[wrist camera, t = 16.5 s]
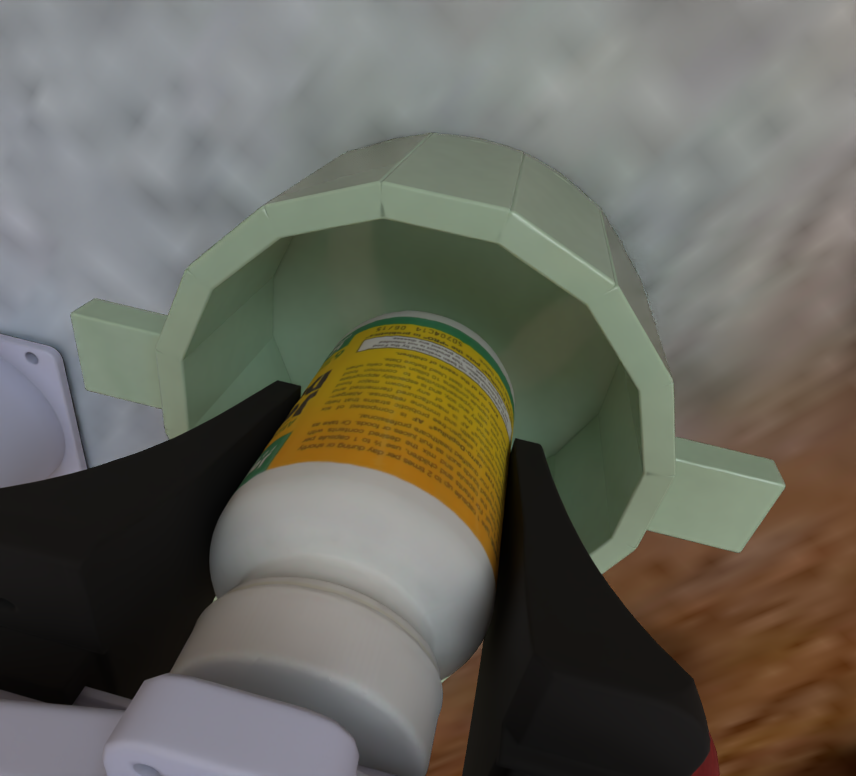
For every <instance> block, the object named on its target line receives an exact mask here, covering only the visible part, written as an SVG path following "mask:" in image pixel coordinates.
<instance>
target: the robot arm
mask: <svg viewBox="0 0 856 776" xmlns="http://www.w3.org/2000/svg"><path fill="white" fill-rule="evenodd" d="M36 356H37V357H36ZM300 398H301V386H300V385H296V384H291V383H287V382H283V381H279V380H277V381H275V382H273V383H272V384H270V385H268V386H267V387H265V388H263V389H262V390H260V391H258V392H257V393H255V394H253V395H252V396H250V397H248V398H247V399H245V400H243V401H242V402H240V403H238V404H237V405H235V406H233V407H231V408H230V409H228V410H226V411H225V412H223V413H221V414H219V415H218V416H216V417H214V418H212V419H210V420H208V421H206V422H204V423H202V424H200V425H199V426H197V427H195V428H193V429H191V430H189V431H187V432H185V433H183V434H181V435H179V436H177V437H174V438H172V439H170V440H168V441H165V442H163V443H161V444H158V445H156V446H153V447H151V448H148V449H146V450H143V451H141V452H138V453H135V454H133V455H130V456H127V457H124V458H120V459H117V460H114V461H111V462H108V463H105V464H102V465H99V466H96V467H93V468H89V469H87V466H86V462H85V457H84V453H83V448H82V444H81V439H80V435H79V430H78V426H77V421H76V417H75V412H74V408H73V403H72V399H71V394H70V390H69V385H68V381H67V376H66V372H65V367H64V363H63V359H62V356H61V354H60V353H59V352H58V351H57V350H56V349H54V348H53V347H50V346H48V345H44V344H39V343H35V342H31V341H27V340H23V339H19V338H15V337H11V336H7V335H3V334H0V776H397V775H394V774H390V773H387V772H383V771H380V770H376V769H373V768H369V767H366V766H362V765H359V764H358V761H359V752H358V749H357V746H356V743H355V740H354V738H353V736H352V734H350V733H349V732H348V731H347V730H346V729H345V728H344V727H342V726H341V725H340V724H339V723H338V722H337V721H335V720H334V719H331V718H329V717H327V716H324V715H322V714H320V713H317V712H315V711H313V710H311V709H307V708H303V707H300V706H296V705H293V704H289V703H286V702H282V701H279V700H275V699H271V698H268V697H264V696H261V695H257V694H254V693H250V692H247V691H243V690H239V689H236V688H232V687H229V686H225V685H222V684H218V683H214V682H211V681H207V680H204V679H200V678H197V677H193V676H187V675H180V674H172V673H170V671H171V669H172V668H173V666H174V664H175V662H176V660H177V658H178V657H179V655H180V653H181V651H182V649H183V648H184V646H185V644H186V642H187V640H188V638H189V637H190V635H191V633H192V631H193V629H194V626H195V624H196V622H197V620H198V618H199V617H200V615H201V614H202V612H203V611H204V610H205V609H206V608H207V607H208V606H209V605H210V604H212V602H213V600H214V598H215V596H216V595H215V592H214V588H213V585H212V581H211V575H210V565H209V555H210V545H211V540H212V535H213V532H214V529H215V527H216V524H217V522H218V519H219V517H220V515H221V513H222V512H223V510H224V508H225V507H226V505H227V503H228V502H229V500H230V498H231V497H232V495H233V494H234V492H235V491H236V490H237V488H238V487H239V485H240V484H241V483H242V481H243V480H244V478H245V477H246V475H247V474H248V472H249V471H250V469H251V468H252V467H253V465H254V464H255V462H256V461H257V459H258V458H259V457H260V455H261V454H262V452H263V451H264V449H265V448H266V446H267V445H268V443H269V442H270V441H271V439H272V438H273V436H274V435H275V433H276V432H277V430H278V429H279V428H280V426H281V425H282V424H283V422H284V421H285V419H286V418H287V416H288V415H289V413H290V412H291V410H292V409H293V407H294V406H295V404H296V403H297V402H298V401H299V399H300ZM709 752H710V735H709V730H708V726H707V721H706V717H705V713H704V710H703V706H702V703H701V700H700V697H699V694H698V692H697V689H696V686H695V683H694V680H693V678H692V677H691V676H690V675H689V674H688V673H687V672H686V671H685V670H684V669H683V668H682V667H681V666H680V665H679V664H678V663H677V662H676V661H674V660H673V659H672V658H671V657H670V656H669V655H668V654H667V653H666V652H665V651H664V650H663V649H662V648H661V647H660V646H659V645H658V644H657V643H656V641H655V640H654V639H653V638H652V637H651V636H650V635H649V634H648V633H647V631H646V630H645V629H644V628H643V627H642V626H641V625H640V624H639V622H638V621H637V620H636V619H635V618H634V617H633V615H632V614H631V613H630V612H629V611H628V609H627V608H626V607H625V605H624V604H623V603H622V602H621V600H620V599H619V598H618V596H617V595H616V594H615V592H614V591H613V590H612V589H611V587H610V586H609V584H608V583H607V582H606V580H605V579H604V577H603V576H602V574H601V573H600V571H599V570H598V568H597V567H596V565H595V563H594V562H593V560H592V559H591V557H590V555H589V554H588V552H587V550H586V548H585V547H584V545H583V543H582V541H581V539H580V538H579V536H578V534H577V532H576V530H575V528H574V526H573V524H572V522H571V520H570V518H569V516H568V514H567V511H566V509H565V507H564V504H563V502H562V500H561V498H560V495H559V493H558V491H557V488H556V486H555V483H554V480H553V478H552V475H551V472H550V469H549V466H548V463H547V460H546V457H545V453H544V450H543V448H542V446H541V444H538V443H534V442H530V441H526V440H522V439H517V438H515V440H514V443H513V447H512V450H511V453H510V461H509V470H508V480H507V489H506V498H505V508H504V517H503V527H502V537H501V547H500V558H499V568H498V578H497V588H496V595H495V602H494V610H493V614H492V618H491V622H490V625H489V628H488V630H487V633H486V635H485V637H484V641H483V648H482V655H481V662H480V669H479V675H478V682H477V688H476V695H475V701H474V707H473V714H472V720H471V726H470V732H469V738H468V744H467V750H466V756H465V762H464V768H463V774H462V776H691V775H692V774H693V773H694V772H695V771H696V770H697V769H698V768H699V767H700V765H701V764H702V763H703V762H704V761H705V759H706V757H707V756H708V754H709Z"/></svg>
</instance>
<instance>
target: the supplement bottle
mask: <svg viewBox="0 0 856 776" xmlns="http://www.w3.org/2000/svg"><path fill="white" fill-rule="evenodd" d="M514 416H515V399H514V391H513V388H512V384H511V381H510V379H509V377H508V374H507V372H506V370H505V368H504V366H503V364H502V363H501V361H500V359H499V358H498V356H497V355H496V353H495V352H494V351H493V349H492V348H491V347H490V346H489V345H488V344H487V343H486V341H484V340H483V339H482V338H481V337H480V336H479V335H478V334H476V333H475V332H473V331H472V330H470V329H469V328H467V327H466V326H464V325H462V324H460V323H458V322H457V321H454V320H452V319H450V318H447V317H444V316H441V315H437V314H433V313H429V312H422V311H411V310H406V311H400V312H392V313H386V314H383V315H380V316H377V317H374V318H372V319H370V320H367V321H365V322H363V323H361V324H360V325H358V326H357V327H355V328H354V329H352V330H351V331H350V332H348V333H347V334H346V335H345V336H344V337H343V338H342V339H341V340H340V341H339V342H338V343H337V345H336V346H335V347H334V349H333V350H332V352H331V353H330V355H329V356H328V357H327V359H326V360H325V362H324V363H323V365H322V366H321V368H320V369H319V371H318V372H317V374H316V375H315V377H314V378H313V379H312V381H311V383H310V384H309V385H308V387H307V388H306V390H305V391H304V393H303V394H302V396H301V398H300V399H299V401H298V402H297V403H296V404H295V406H294V407H293V409H292V410H291V412H290V413H289V415H288V416H287V418H286V419H285V421H284V422H283V424H282V425H281V426H280V428H279V429H278V430H277V432H276V433H275V435H274V436H273V438H272V439H271V441H270V442H269V443H268V445H267V446H266V448H265V449H264V451H263V452H262V454H261V455H260V457H259V458H258V459H257V461H256V462H255V464H254V465H253V467H252V468H251V469H250V471H249V472H248V474H247V475H246V477H245V478H244V480H243V481H242V483H241V484H240V485H239V487H238V488H237V490H236V491H235V492H234V494H233V495H232V497H231V498H230V500H229V502H228V503H227V505H226V507H225V508H224V510H223V512H222V513H221V515H220V517H219V519H218V522H217V524H216V527H215V529H214V532H213V535H212V540H211V545H210V555H209V565H210V575H211V581H212V585H213V588H214V592H215V595H216V597H217V600H216V601H214V602H213V603H212V604H210V605H209V606H208V607H207V608H206V609H205V610H204V611H203V612H202V614H201V615H200V617H199V618H198V620H197V622H196V624H195V626H194V629H193V631H192V633H191V635H190V637H189V638H188V640H187V642H186V644H185V646H184V648H183V649H182V651H181V653H180V655H179V657H178V658H177V660H176V662H175V664H174V666H173V668H172V669H171V671H170V673H172V674H180V675H187V676H193V677H197V678H200V679H204V680H207V681H211V682H214V683H218V684H222V685H225V686H229V687H232V688H236V689H239V690H243V691H247V692H250V693H254V694H257V695H261V696H264V697H268V698H271V699H275V700H279V701H282V702H286V703H289V704H293V705H296V706H300V707H303V708H307V709H311V710H313V711H315V712H317V713H320V714H322V715H324V716H327V717H329V718H331V719H334V720H335V721H337V722H338V723H339V724H340V725H341V726H342V727H344V728H345V729H346V730H347V731H348V732H349V733H350V734H352V736H353V738H354V740H355V743H356V746H357V749H358V752H359V761H358V764H359V765H362V766H366V767H369V768H373V769H376V770H380V771H383V772H387V773H390V774H394V775H397V776H425V775H426V773H427V770H428V766H429V760H430V755H431V750H432V745H433V740H434V735H435V730H436V725H437V720H438V716H439V713H440V711H441V708H442V699H443V690H442V684H441V680H443V679H445V678H446V677H448V676H450V675H451V674H453V673H454V672H455V671H457V670H458V669H459V668H460V667H462V666H463V665H464V664H465V663H466V662H467V661H468V660H469V659H470V658H471V656H472V655H473V654H474V653H475V652H476V650H477V649H478V647H479V646H480V644H481V643H482V641H483V639H484V637H485V635H486V633H487V630H488V628H489V625H490V622H491V618H492V614H493V610H494V602H495V595H496V588H497V578H498V568H499V558H500V547H501V537H502V527H503V517H504V508H505V498H506V489H507V480H508V470H509V461H510V453H511V445H512V436H513V427H514Z"/></svg>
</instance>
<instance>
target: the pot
mask: <svg viewBox="0 0 856 776" xmlns="http://www.w3.org/2000/svg"><path fill="white" fill-rule="evenodd" d="M406 310H411V311H422V312H429V313H433V314H437V315H441V316H444V317H447V318H450V319H452V320H454V321H457V322H458V323H460V324H462V325H464V326H466V327H467V328H469V329H470V330H472V331H473V332H475V333H476V334H478V335H479V336H480V337H481V338H482V339H483V340H484V341H486V343H487V344H488V345H489V346H490V347H491V348H492V349H493V351H494V352H495V353H496V355H497V356H498V358H499V359H500V361H501V363H502V364H503V366H504V368H505V370H506V372H507V374H508V377H509V379H510V381H511V384H512V388H513V391H514V399H515V416H514V427H513V436H512V445H511V450H512V447H513V443H514V440H515V438H517V439H522V440H526V441H530V442H534V443H538V444H541V446H542V448H543V450H544V453H545V457H546V460H547V463H548V466H549V469H550V472H551V475H552V478H553V480H554V483H555V486H556V488H557V491H558V493H559V495H560V498H561V500H562V502H563V504H564V507H565V509H566V511H567V514H568V516H569V518H570V520H571V522H572V524H573V526H574V528H575V530H576V532H577V534H578V536H579V538H580V539H581V541H582V543H583V545H584V547H585V548H586V550H587V552H588V554H589V555H590V557H591V559H592V560H593V562H594V563H595V565H596V567H597V568H598V570H599V571H600V573H601V574H603V573H604V572H606V571H607V570H608V569H610V568H611V567H612V566H614V565H615V564H617V563H618V562H619V561H621V560H622V559H623V558H625V557H626V556H628V555H629V554H630V553H632V552H633V551H634V550H635V548H637V547H638V545H639V543H640V541H641V539H642V537H643V535H644V534H645V532H646V530H648V531H652V532H656V533H660V534H664V535H668V536H672V537H676V538H680V539H684V540H688V541H692V542H696V543H700V544H704V545H708V546H712V547H716V548H720V549H724V550H728V551H732V552H736V553H740V552H741V551H742V550H743V548H744V547H745V545H746V544H747V542H748V541H749V539H750V538H751V536H752V535H753V534H754V532H755V531H756V529H757V528H758V526H759V525H760V523H761V522H762V520H763V519H764V518H765V516H766V515H767V513H768V512H769V510H770V509H771V507H772V506H773V504H774V503H775V502H776V500H777V499H778V497H779V496H780V494H781V493H782V491H783V490H784V488H785V483H784V481H783V478H782V476H781V474H780V472H779V470H778V468H777V466H776V464H775V462H774V461H773V460H771V459H767V458H763V457H759V456H755V455H751V454H746V453H742V452H738V451H734V450H730V449H726V448H721V447H717V446H713V445H709V444H705V443H700V442H696V441H692V440H688V439H684V438H679V437H675V406H674V382H673V378H672V375H671V372H670V369H669V366H668V363H667V360H666V356H665V353H664V350H663V347H662V344H661V341H660V338H659V335H658V331H657V328H656V325H655V322H654V319H653V316H652V313H651V310H650V306H649V303H648V300H647V297H646V294H645V291H644V288H643V285H642V281H641V279H640V277H639V275H638V274H637V272H636V270H635V268H634V266H633V265H632V263H631V261H630V259H629V257H628V256H627V253H626V251H625V249H624V247H623V245H622V243H621V240H620V239H619V237H618V235H617V234H616V232H615V231H614V229H613V228H612V226H611V225H610V223H609V221H608V220H607V218H606V216H605V214H604V212H603V211H602V209H601V208H600V207H599V206H598V205H597V204H596V203H594V202H593V201H592V200H590V199H589V198H588V197H587V195H586V194H585V193H583V192H582V191H581V190H580V189H579V188H577V187H576V186H575V185H574V184H573V183H571V182H570V181H569V180H568V179H567V178H566V177H564V176H563V175H562V174H560V173H559V172H557V171H555V170H554V169H552V168H551V167H549V166H547V165H546V164H544V163H543V162H541V161H539V160H538V159H536V158H533V157H531V156H530V155H528V154H526V153H525V154H524V152H523V151H519V150H515V149H513V148H511V147H508V146H505V145H501V144H498V143H494V142H491V141H487V140H484V139H480V138H473V137H465V136H458V135H451V134H438V133H426V134H422V135H415V136H408V137H402V138H395V139H390V140H387V141H384V142H381V143H377V144H374V145H371V146H367V147H364V148H360V149H355V150H351V151H347V152H346V153H344V154H342V155H340V156H339V157H337V158H335V159H334V160H332V161H331V162H329V163H328V164H326V165H325V166H323V167H322V168H320V169H318V170H317V171H315V172H314V173H312V174H311V175H309V176H308V177H306V178H304V179H303V180H301V181H300V182H298V183H297V184H295V185H294V186H292V187H291V188H289V189H287V190H286V191H284V192H283V193H281V194H280V195H278V196H277V197H275V198H273V199H272V200H270V201H269V202H267V203H266V204H264V205H263V206H261V207H260V208H259V209H257V210H256V211H255V212H254V213H252V214H251V215H250V216H249V217H248V218H246V219H245V220H244V221H243V222H241V223H240V224H239V225H238V226H237V227H235V228H234V229H233V230H232V231H230V232H229V233H228V234H227V235H226V236H224V237H223V238H222V239H221V240H219V241H218V242H217V243H216V244H214V245H213V246H212V247H211V248H210V249H208V250H207V251H206V252H205V253H203V254H202V255H201V256H200V257H199V258H197V259H196V260H195V261H194V262H192V263H191V264H190V265H189V267H188V268H187V269H186V270H185V271H184V274H183V277H182V279H181V282H180V285H179V287H178V290H177V292H176V295H175V298H174V300H173V303H172V306H171V308H170V311H169V314H168V315H164V314H160V313H155V312H151V311H147V310H143V309H139V308H134V307H130V306H126V305H122V304H118V303H113V302H109V301H105V300H101V299H93V300H91V301H89V302H88V303H86V304H84V305H83V306H81V307H79V308H78V309H76V310H75V311H73V312H71V314H70V316H71V321H72V326H73V331H74V336H75V341H76V346H77V351H78V356H79V361H80V365H81V370H82V375H83V380H84V385H85V389H86V390H87V391H91V392H95V393H99V394H103V395H107V396H111V397H115V398H119V399H123V400H127V401H131V402H135V403H139V404H143V405H147V406H151V407H155V408H159V409H162V412H163V420H164V428H165V433H166V434H167V436H168V438H169V440H170V439H172V438H174V437H177V436H179V435H181V434H183V433H185V432H187V431H189V430H191V429H193V428H195V427H197V426H199V425H200V424H202V423H204V422H206V421H208V420H210V419H212V418H214V417H216V416H218V415H219V414H221V413H223V412H225V411H226V410H228V409H230V408H231V407H233V406H235V405H237V404H238V403H240V402H242V401H243V400H245V399H247V398H248V397H250V396H252V395H253V394H255V393H257V392H258V391H260V390H262V389H263V388H265V387H267V386H268V385H270V384H272V383H273V382H275V381H277V380H279V381H283V382H287V383H291V384H296V385H300V386H301V396H302V394H303V393H304V391H305V390H306V388H307V387H308V385H309V384H310V383H311V381H312V379H313V378H314V377H315V375H316V374H317V372H318V371H319V369H320V368H321V366H322V365H323V363H324V362H325V360H326V359H327V357H328V356H329V355H330V353H331V352H332V350H333V349H334V347H335V346H336V345H337V343H338V342H339V341H340V340H341V339H342V338H343V337H344V336H345V335H346V334H347V333H348V332H350V331H351V330H352V329H354V328H355V327H357V326H358V325H360V324H361V323H363V322H365V321H367V320H370V319H372V318H374V317H377V316H380V315H383V314H386V313H392V312H400V311H406Z"/></svg>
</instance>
